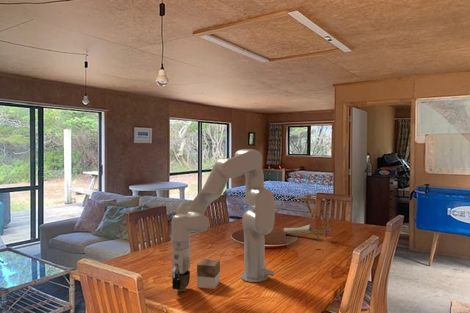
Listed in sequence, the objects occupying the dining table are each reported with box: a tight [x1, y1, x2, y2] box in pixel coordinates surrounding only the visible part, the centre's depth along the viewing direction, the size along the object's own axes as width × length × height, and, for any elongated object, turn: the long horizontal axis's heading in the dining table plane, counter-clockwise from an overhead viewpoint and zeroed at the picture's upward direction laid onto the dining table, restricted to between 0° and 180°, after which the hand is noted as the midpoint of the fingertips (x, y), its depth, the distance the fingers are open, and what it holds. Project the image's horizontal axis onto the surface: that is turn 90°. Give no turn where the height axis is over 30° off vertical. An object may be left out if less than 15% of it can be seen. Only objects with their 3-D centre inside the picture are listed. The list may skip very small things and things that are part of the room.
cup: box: [176, 270, 191, 293], centre depth 146 cm, size 8×7×8 cm
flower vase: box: [283, 223, 334, 242], centre depth 229 cm, size 12×12×35 cm
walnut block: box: [196, 258, 221, 278], centre depth 153 cm, size 8×8×5 cm
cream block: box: [196, 272, 221, 290], centre depth 153 cm, size 8×8×5 cm
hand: (180, 284), depth 146 cm, fingers open, 9 cm apart
